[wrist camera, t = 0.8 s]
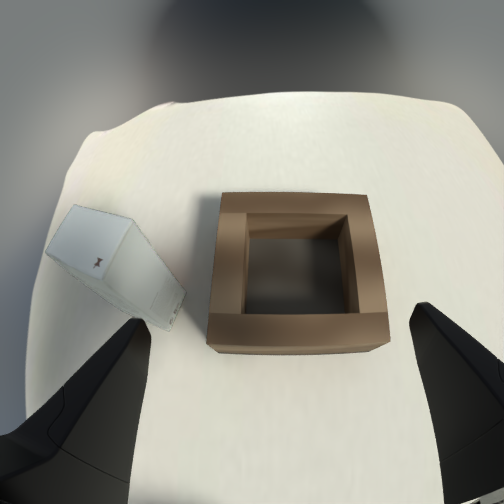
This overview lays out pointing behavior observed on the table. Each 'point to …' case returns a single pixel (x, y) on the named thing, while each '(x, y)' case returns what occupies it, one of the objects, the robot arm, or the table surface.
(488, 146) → the table surface
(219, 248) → the socket block
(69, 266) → the skincare box
